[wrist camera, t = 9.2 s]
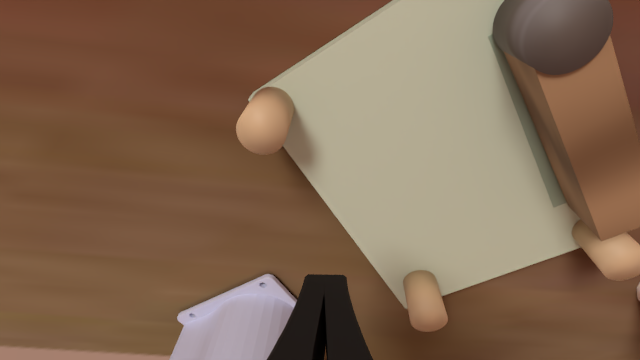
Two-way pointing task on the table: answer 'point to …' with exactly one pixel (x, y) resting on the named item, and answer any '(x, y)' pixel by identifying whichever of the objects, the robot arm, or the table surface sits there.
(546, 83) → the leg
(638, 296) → the shot glass
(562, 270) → the table surface
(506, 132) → the seat
